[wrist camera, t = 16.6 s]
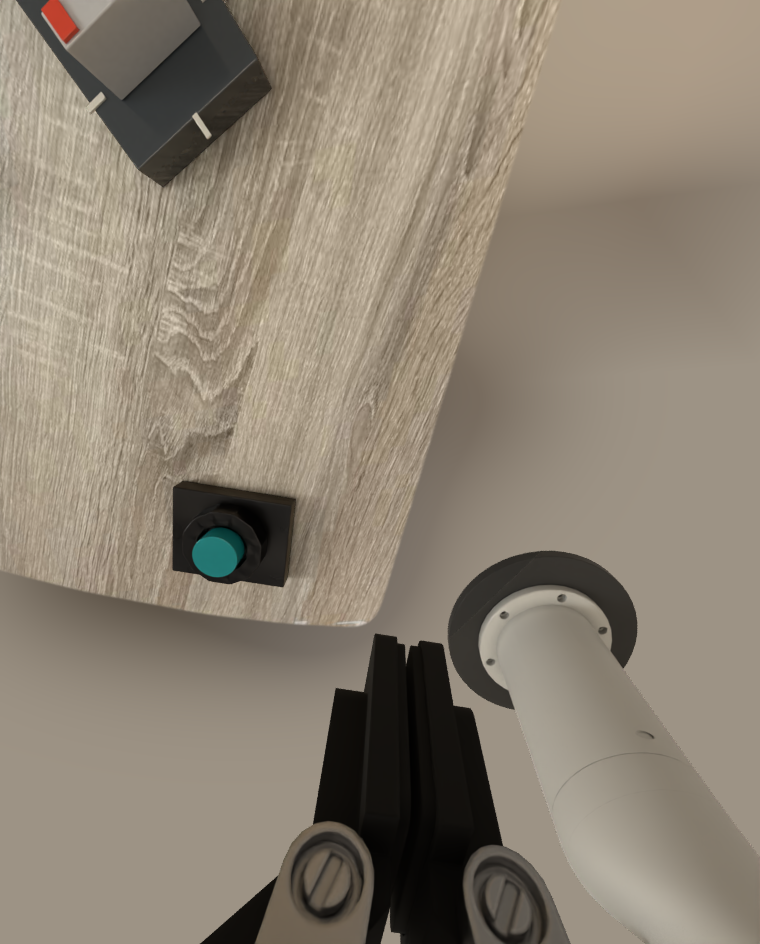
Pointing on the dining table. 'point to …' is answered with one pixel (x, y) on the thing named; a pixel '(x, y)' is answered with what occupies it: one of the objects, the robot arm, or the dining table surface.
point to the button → (218, 552)
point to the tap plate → (174, 91)
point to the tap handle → (120, 36)
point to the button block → (235, 530)
